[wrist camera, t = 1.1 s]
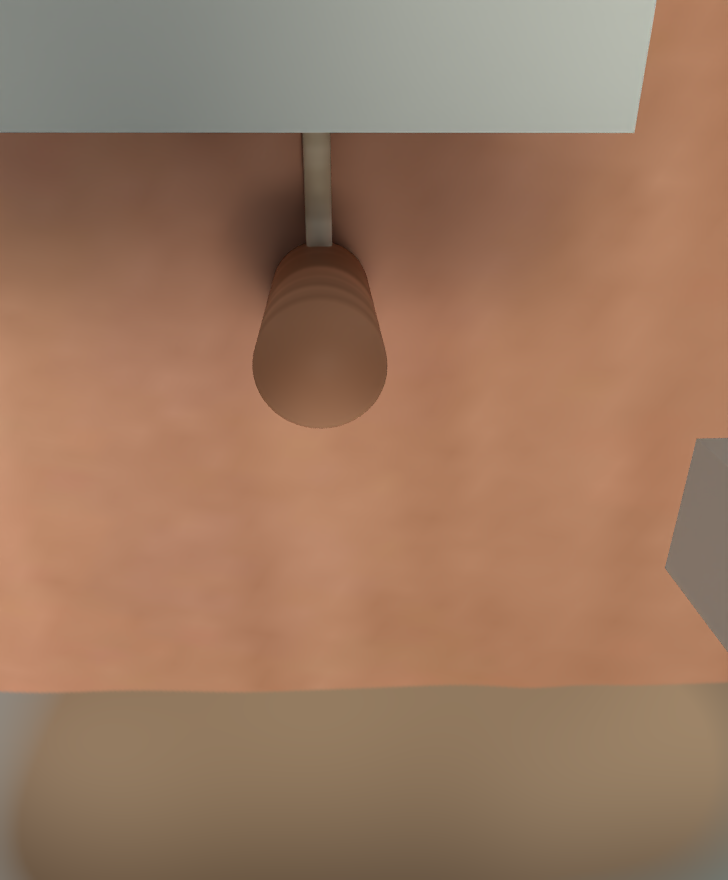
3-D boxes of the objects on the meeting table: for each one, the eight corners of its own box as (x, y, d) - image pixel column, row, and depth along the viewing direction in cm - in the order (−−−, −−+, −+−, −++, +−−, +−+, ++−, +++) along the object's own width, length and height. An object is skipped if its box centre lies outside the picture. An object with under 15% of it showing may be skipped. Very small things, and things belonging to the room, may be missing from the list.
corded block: (173, -490, 16) (56, -959, 9) (424, -478, 16) (503, -922, 9) (241, 337, 25) (210, 431, 18) (400, 335, 26) (431, 426, 18)
